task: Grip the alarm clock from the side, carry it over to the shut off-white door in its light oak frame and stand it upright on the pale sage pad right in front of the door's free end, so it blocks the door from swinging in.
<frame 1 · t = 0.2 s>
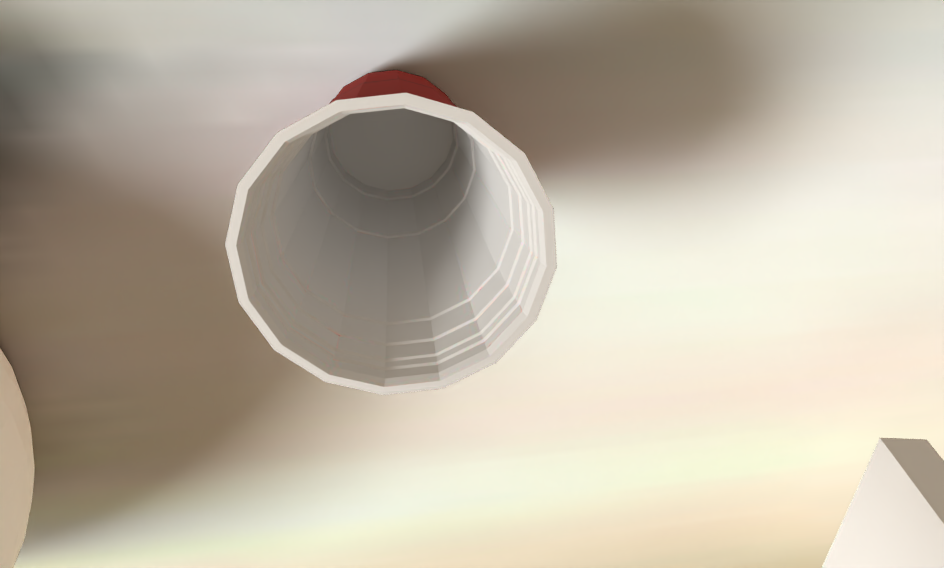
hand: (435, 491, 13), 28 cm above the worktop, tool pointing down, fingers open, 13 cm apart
plastic cup: (390, 126, 40), on the worktop
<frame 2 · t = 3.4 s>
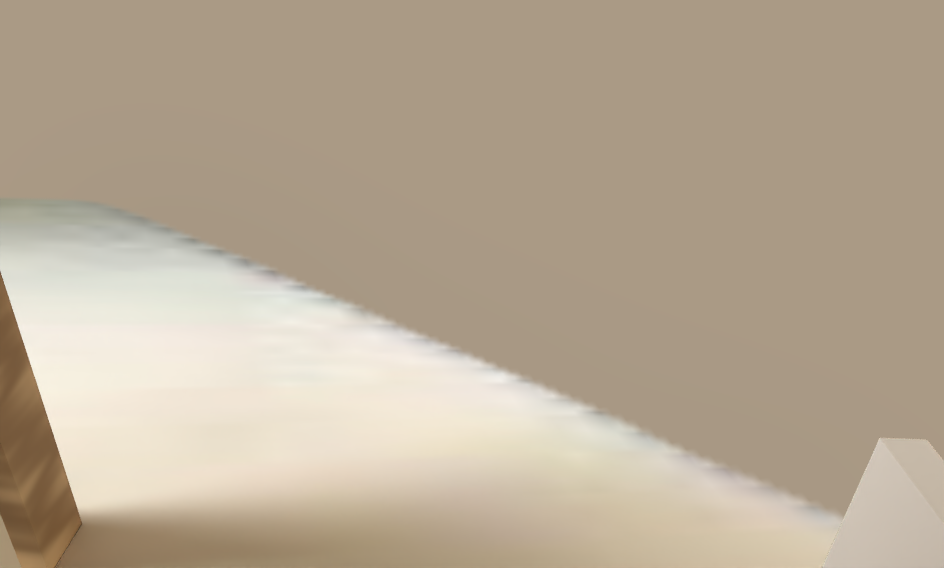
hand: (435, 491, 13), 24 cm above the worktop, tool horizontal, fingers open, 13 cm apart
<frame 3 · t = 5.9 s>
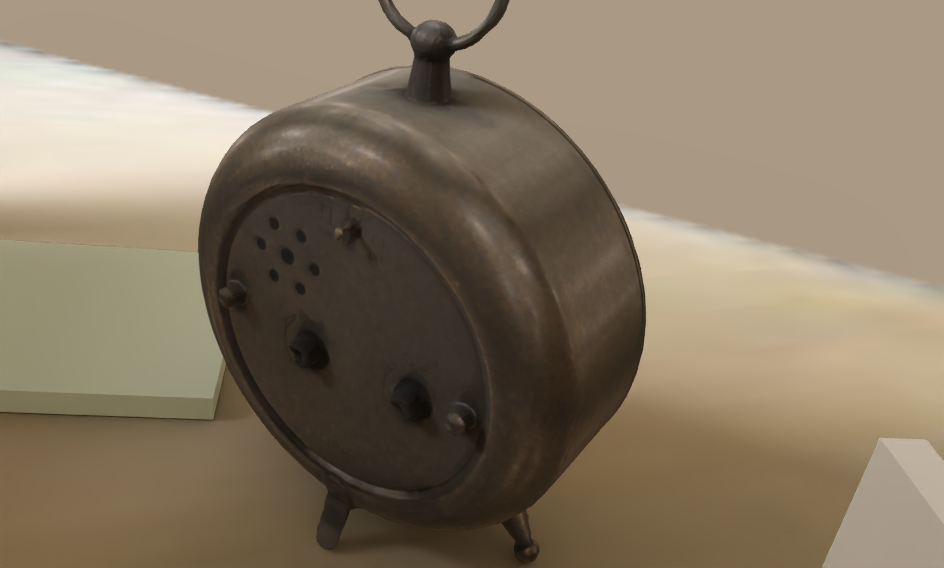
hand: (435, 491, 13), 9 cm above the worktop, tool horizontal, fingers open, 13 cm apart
alarm clock: (378, 512, 25), on the worktop
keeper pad: (18, 326, 30), on the worktop
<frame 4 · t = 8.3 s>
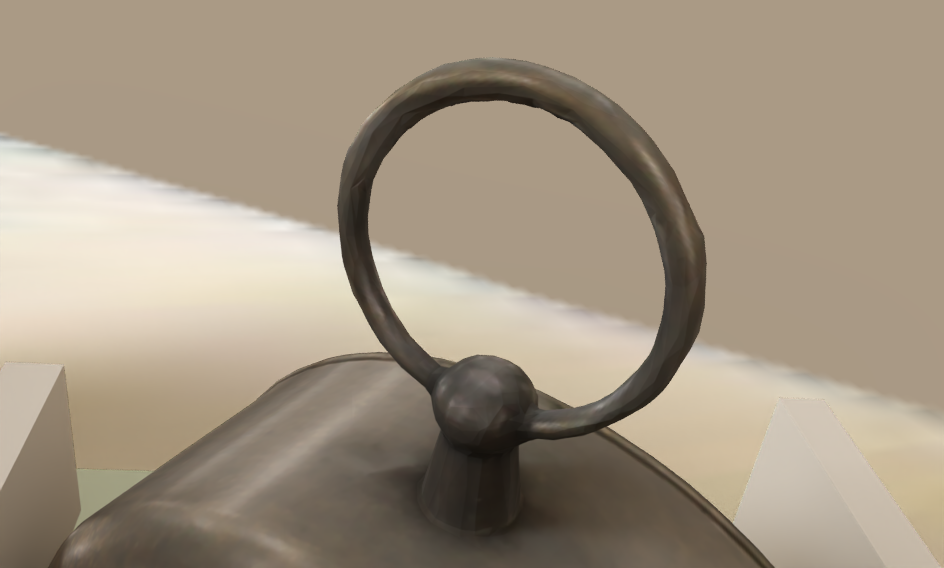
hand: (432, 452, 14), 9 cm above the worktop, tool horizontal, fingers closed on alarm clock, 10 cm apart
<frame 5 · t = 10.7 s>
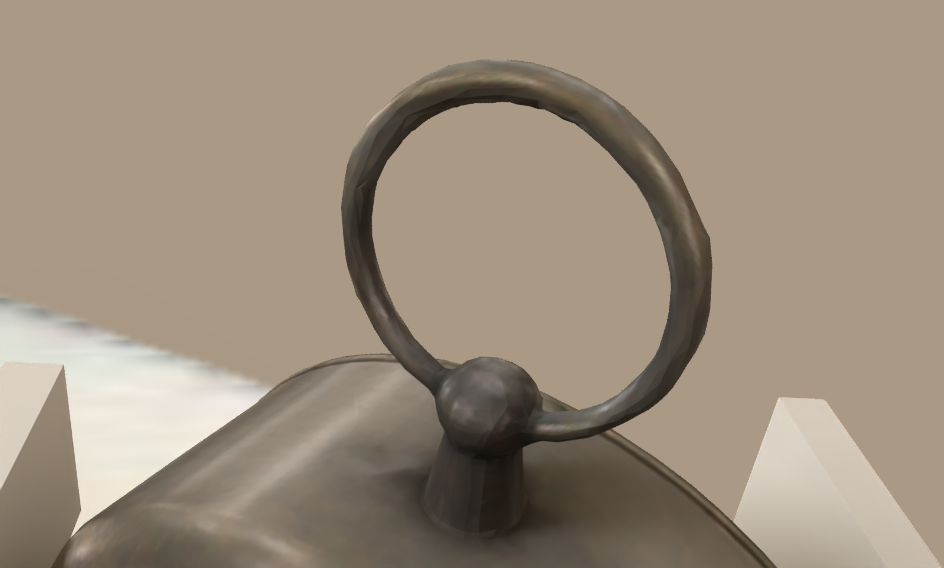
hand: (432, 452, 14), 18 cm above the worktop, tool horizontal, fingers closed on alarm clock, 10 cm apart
when the fingers open (11 cm above the worktop, at t = 13.0 s): alarm clock drops 1 cm, resting on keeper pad.
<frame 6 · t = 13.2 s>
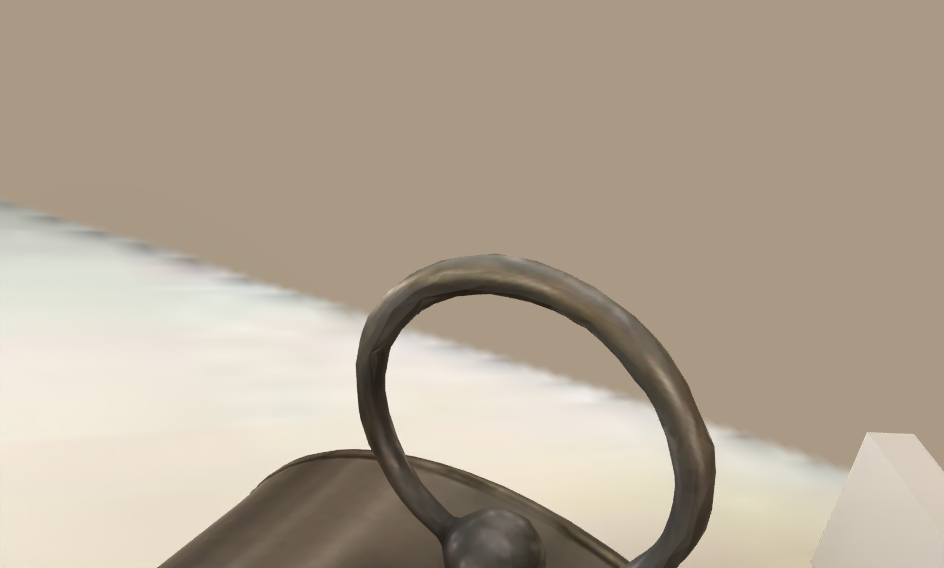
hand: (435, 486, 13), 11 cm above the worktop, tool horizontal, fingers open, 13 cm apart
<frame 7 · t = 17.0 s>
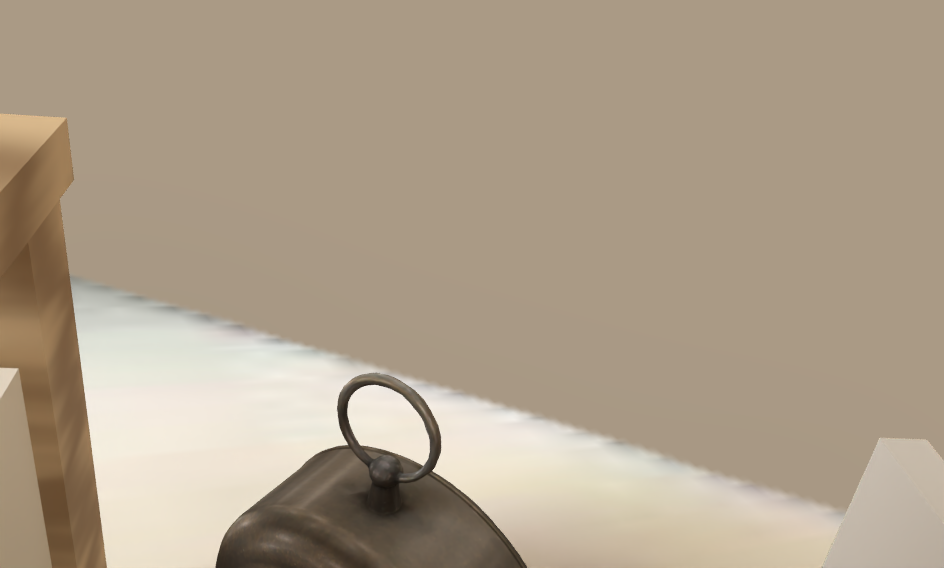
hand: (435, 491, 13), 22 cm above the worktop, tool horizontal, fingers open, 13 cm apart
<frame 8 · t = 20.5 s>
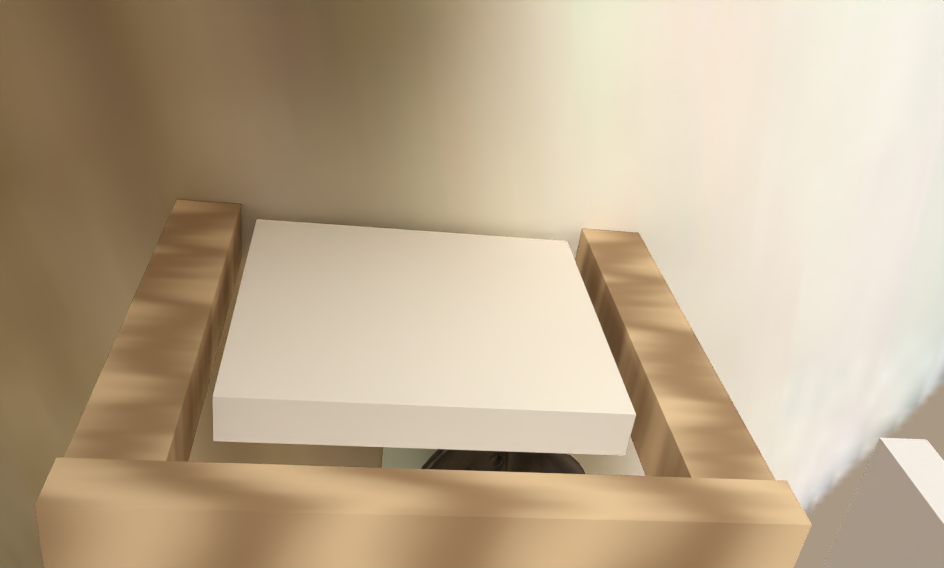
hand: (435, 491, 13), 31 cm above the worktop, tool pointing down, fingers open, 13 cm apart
door frame: (413, 243, 46), on the worktop
alarm clock: (466, 434, 51), point 1 cm above the worktop, touching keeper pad
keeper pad: (463, 431, 52), on the worktop
door: (420, 324, 39), point 8 cm above the worktop, hinge at 0.0°
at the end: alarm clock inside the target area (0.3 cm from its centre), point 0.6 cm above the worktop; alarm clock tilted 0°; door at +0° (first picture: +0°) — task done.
